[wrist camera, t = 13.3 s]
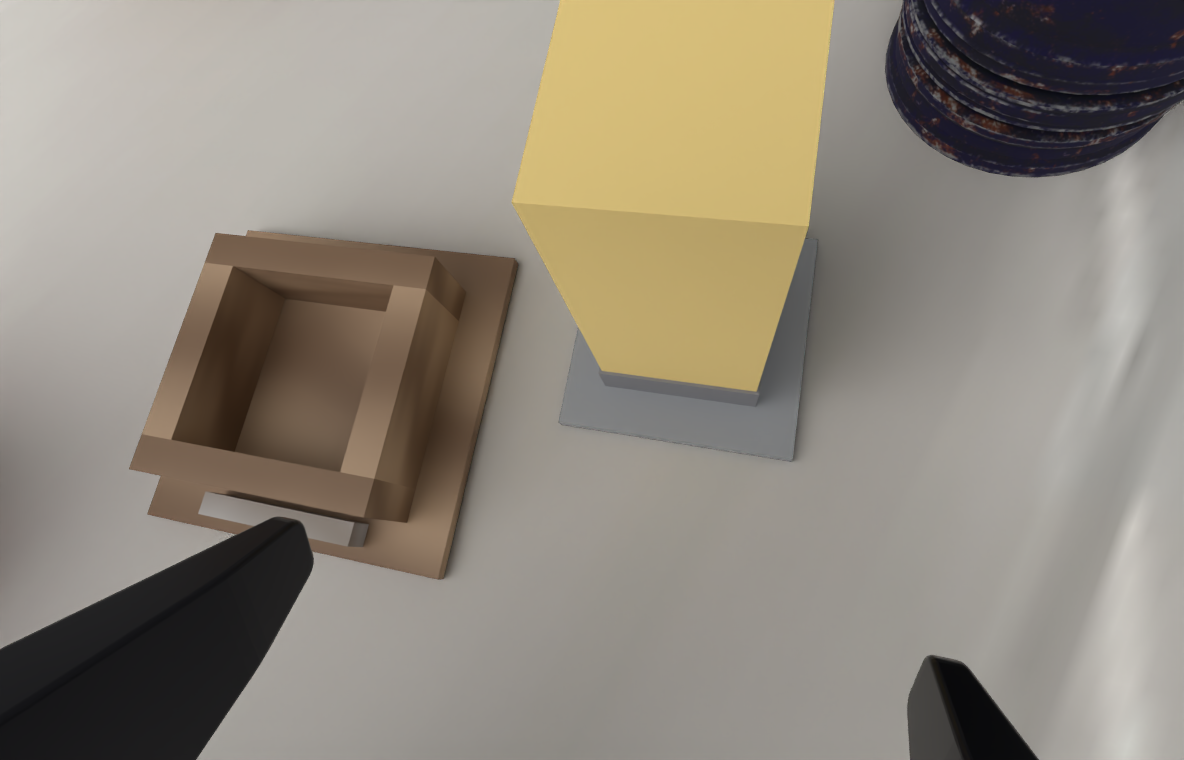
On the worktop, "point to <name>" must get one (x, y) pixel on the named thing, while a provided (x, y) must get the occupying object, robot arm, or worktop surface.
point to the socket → (329, 393)
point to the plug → (676, 181)
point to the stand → (705, 420)
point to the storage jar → (1035, 78)
